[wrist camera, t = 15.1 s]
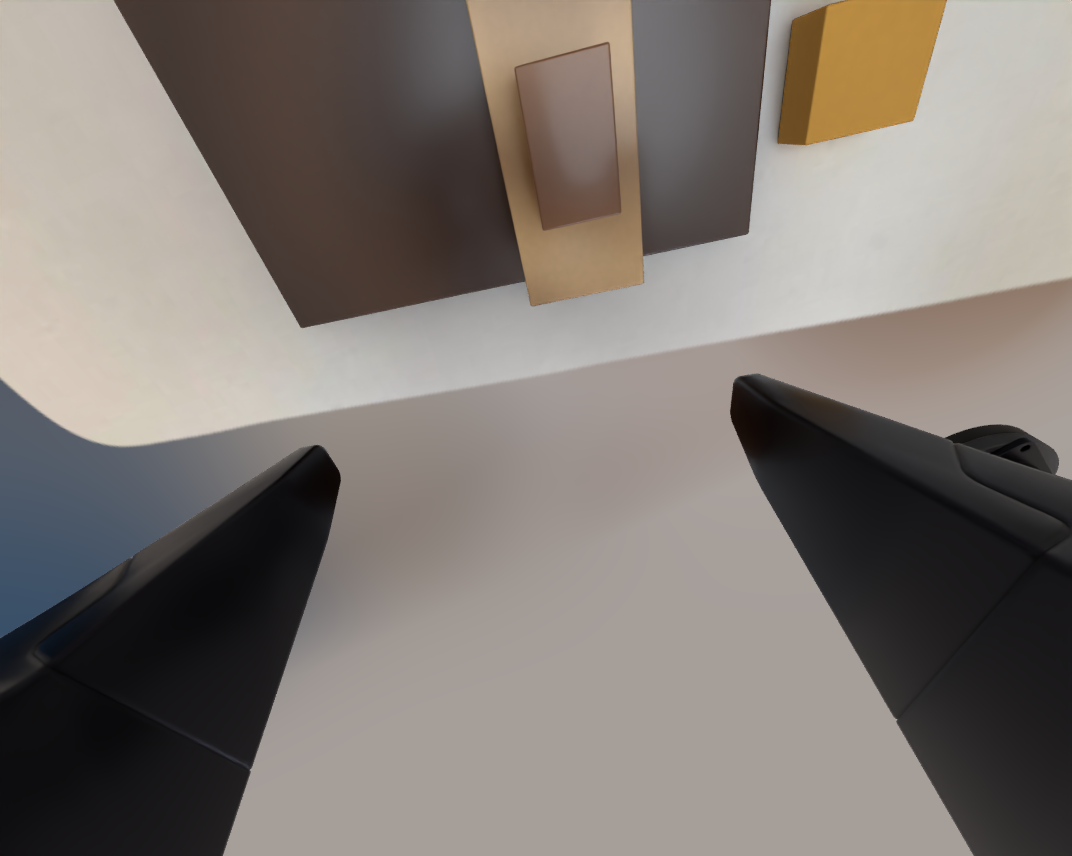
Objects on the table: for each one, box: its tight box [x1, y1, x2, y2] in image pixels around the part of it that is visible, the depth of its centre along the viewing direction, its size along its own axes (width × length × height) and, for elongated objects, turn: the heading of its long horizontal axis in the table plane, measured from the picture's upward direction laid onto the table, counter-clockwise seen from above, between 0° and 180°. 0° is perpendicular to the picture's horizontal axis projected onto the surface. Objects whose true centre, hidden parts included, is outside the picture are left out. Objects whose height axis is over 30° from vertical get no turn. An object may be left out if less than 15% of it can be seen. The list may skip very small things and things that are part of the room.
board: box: [114, 0, 771, 328], centre depth 14 cm, size 20×16×1 cm
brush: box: [466, 0, 644, 306], centre depth 13 cm, size 10×4×4 cm, turn 11°
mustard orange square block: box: [778, 0, 947, 145], centre depth 14 cm, size 4×4×2 cm
